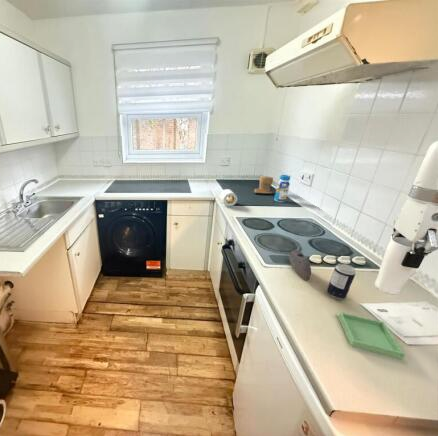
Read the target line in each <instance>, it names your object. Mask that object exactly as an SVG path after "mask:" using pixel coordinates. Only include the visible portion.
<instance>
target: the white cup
mask: <svg viewBox="0 0 438 436" xmlns="http://www.w3.org/2000/svg"><path fill="white" fill-rule="evenodd" d="M410 246H411V241H410V240H408V239H407V238H403V237H393V238H392V237H391V238H390V240H389V242H388V244H387V246H386V248H385V251H384V253H383V256H382V259H381V263H380V266H379V269H378V273H377V276H376V279H375V280H374V286H375V288H376V289H377V290H379V291H380V292H383V293H385V294H387V295H393V296H397V295H399V294H401V293H402V290H403V289H404V287H405V285H406V284H407V282H408V281H409V280H410V278H411V277H412V275H413V274H414V273H415V271H416V270H417V269H416V268H410V267H404V266H402V265H401V263H402V261H403V259H404V257H405V255H406V253H407V252H410ZM422 246H423V245H420V244H417V248H419V247H422ZM417 248H416V249H417Z"/></svg>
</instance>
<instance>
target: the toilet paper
mask: <svg viewBox="0 0 438 436" xmlns="http://www.w3.org/2000/svg"><path fill="white" fill-rule="evenodd" d="M219 198H220V200H221V201H222V202H223V204H224V205H225V206H227V207H232V206H234V205H236V204H237V202H238V196H237V194H235V193H234V192H233V190H231V189H229V188H227V189H226V188H225V189H223V190H221V192H220V194H219Z"/></svg>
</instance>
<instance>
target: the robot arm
mask: <svg viewBox="0 0 438 436" xmlns="http://www.w3.org/2000/svg"><path fill="white" fill-rule="evenodd" d="M406 198H407V199H406V201H405V202H404V204H403V205H402V207H401V209H400V211H399V213H398V214H397V216H396V219H395V220H394V221H393V229H392V230H393V232H392V234H391V238H393V237H403V238H407V239H408V240H410V241H411V246H410V252H407V253H406V255H405V257H404V259H403V261H402V263H401V265H402V266H404V267H410V268H416V269H415V270H417V269H419V268H420V266H421V265H422V263H423V261H424V259H425V257H427V256H428V255H429V254H431V253H432V252H435V251H437V250H438V140H436V141H434V142H432V143H431V144H430V146H429V147H428V149H427V151H426V154H425V156H424V158H423V161H422V163H421V165H420V167H419V169H418V171H417V174H416V176H415V179H414V181H413V183H412V185H411V187H410V189H409V191H408V194H407V196H406ZM419 240H420V241H419ZM417 244H420V245H423V246H422V247H419V248H417ZM416 248H417V249H416Z"/></svg>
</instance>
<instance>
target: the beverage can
mask: <svg viewBox="0 0 438 436" xmlns="http://www.w3.org/2000/svg"><path fill="white" fill-rule="evenodd" d="M333 269H334V270H333V272H332V275H331V277H330V280H329V283H328V286H327V289H326V291H327V293H328V294H329V296H330V297H332V298H334V299H338V300H342V299H345V298H347V296H348V293H349V291H350V289H351V287H352V284H353V281H354V278H355V276H356V268H355V267H353V266H352V265H350V264H345V263H338V264H337V265H336V266H335V267H334V268H333Z"/></svg>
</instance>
